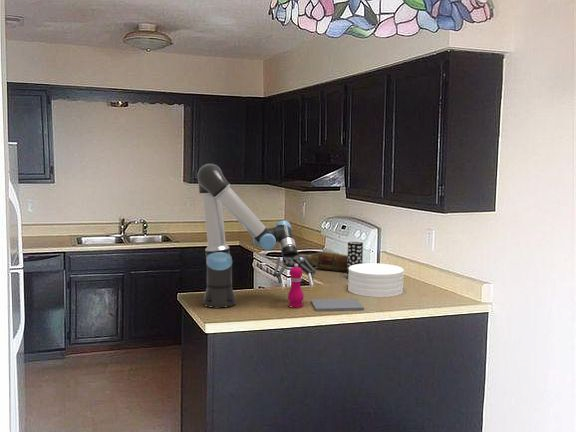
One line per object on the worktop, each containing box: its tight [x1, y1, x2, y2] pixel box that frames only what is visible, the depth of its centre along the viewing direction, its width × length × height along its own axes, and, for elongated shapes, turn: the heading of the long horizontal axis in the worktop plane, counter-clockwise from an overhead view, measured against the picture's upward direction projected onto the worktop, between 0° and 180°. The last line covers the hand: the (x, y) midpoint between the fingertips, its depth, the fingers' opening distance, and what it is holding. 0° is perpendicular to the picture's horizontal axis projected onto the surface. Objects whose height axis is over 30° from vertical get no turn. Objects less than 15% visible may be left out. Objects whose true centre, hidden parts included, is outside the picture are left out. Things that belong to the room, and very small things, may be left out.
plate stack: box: [347, 262, 405, 298], centre depth 313 cm, size 28×28×12 cm
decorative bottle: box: [298, 251, 348, 273], centre depth 365 cm, size 11×11×45 cm
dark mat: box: [310, 298, 365, 312], centre depth 282 cm, size 22×16×1 cm
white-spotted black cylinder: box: [346, 241, 364, 279], centre depth 339 cm, size 8×8×20 cm
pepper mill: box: [287, 264, 305, 308], centre depth 280 cm, size 7×7×20 cm
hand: (297, 287), depth 279 cm, fingers open, 13 cm apart
